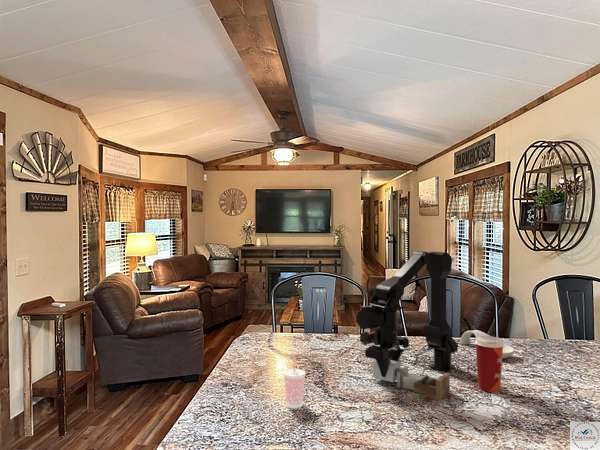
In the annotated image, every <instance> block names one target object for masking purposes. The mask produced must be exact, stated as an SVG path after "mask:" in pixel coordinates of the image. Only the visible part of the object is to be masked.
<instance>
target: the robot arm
mask: <svg viewBox="0 0 600 450" xmlns="http://www.w3.org/2000/svg"><path fill="white" fill-rule="evenodd" d="M452 265H453V257H452V255H451V254H450V253H448V252H443V251H430V252H427V251H422V250H416V251H414V252H413V253H412V256H411V257H410V258H409V259H407V261H406V262H405V263H404V264H403V265H402V266H401V267H400V269H399V270H398V271H397V272H396V273H395V274H394V275H393V276H392V277H389V278H388V279H385V280H383V281H382V282H381V283H379V284H378V285H376V287H375V289H374V292H373V294H372V296H371V298H370V300H369V302H368V303H367V305H362V306H360V310H358V312H357V315H356V323H357V325H358V327H359V328H360V329H361V330H367V329H368V330H369V329H373V328H375V330H374V331H370V332H368V331H365V332H360V336H359V342H360V343H362V344H363V346H367V345H371V344H373V345H371V346H367V348H366V349H365V350H364V357H365V358H368V359H374V361H375V360H376V361H377V363H378V366H379V369H380V372H381V375H382V377H386V374H387V371H388V368H389V364H390V361H391V360H394V361H399V362H400V359H401V357H402V356H403V354H404V352H405V349H406V348H408V347H409V346H410V341H409V339H408V338H407V337H406V336H400V335H398V332H400V327H398V311H401V310H403V306H401V305H400V304H399V302H400V300H401V298H402V297H403V296H404V293H405V289H406V287H407V286H408V284H409V283H411V281H412V279H414V278H415V277H416V276H417V274H418V273H419V272H420V271H421V270H422V269H423V268H424V266H425V267H426V271H427V274H428V275H429V277H430V321H429V322H428V324H425V325H424V335H423V336H424V337H425V338H424V339H425V341H426V342H427V348H429V349H433V363H432V364H430V367H429V368H431V369H436V370H440V371H445V372H450V371H451V370H452V369H454V368H455V367H456V365H455V364H452V354H455V353H456V352H458V348H459V344H458V343H457V342H456V341H455V340H454V338H453V335H452V334H453V333H452V329H451V327H450V325H449V323H448V321H447V278H448V277H449V274H451V272H452V267H453V266H452ZM401 346H402V348H401Z"/></svg>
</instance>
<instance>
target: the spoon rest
mask: <svg viewBox="0 0 600 450" xmlns="http://www.w3.org/2000/svg"><path fill="white" fill-rule="evenodd" d="M473 334H474V336H475V339H476V338H477V337H479V336H490V335H489V334H488V333H485V332H484V331H481V330H477V329H474V330H467V331H465V332H464V333H463V334H462V335H461V337H460V342H459V344H460V345H470V344H471V337H472V335H473ZM503 343H504V346H503V355H502V360H503V359H507V358H509V357H511V356H512V355H513V354H514V353H515V348H513V347H512V346H511V345H509V344H507V343H506V342H503Z"/></svg>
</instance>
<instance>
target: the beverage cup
mask: <svg viewBox="0 0 600 450" xmlns="http://www.w3.org/2000/svg"><path fill="white" fill-rule="evenodd" d="M292 358H293V368H289V369H286V370H284V371H283V378H284V389H285V390H284V391H285V393H284V394H285V407H287V408H289V409H299V408H301V407H303V405H304V393H305V392H304V390H305V378H306V371H305V370H304V369H302V368H301V369H300V368H296V354H295V353H293V357H292Z"/></svg>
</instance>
